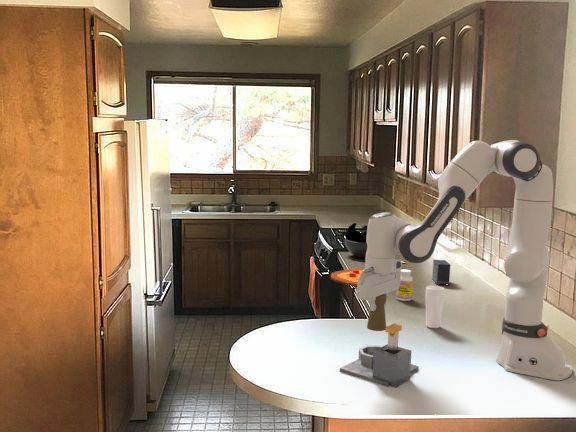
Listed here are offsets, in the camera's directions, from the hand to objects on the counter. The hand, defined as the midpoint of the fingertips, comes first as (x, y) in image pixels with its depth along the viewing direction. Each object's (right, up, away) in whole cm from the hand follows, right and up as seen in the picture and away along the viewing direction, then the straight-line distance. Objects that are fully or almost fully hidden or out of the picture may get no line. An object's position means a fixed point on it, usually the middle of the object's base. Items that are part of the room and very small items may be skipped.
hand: (377, 308), depth 196 cm
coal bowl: (+14, +5, +166) cm, 167 cm away
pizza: (+9, -3, +113) cm, 114 cm away
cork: (0, -7, +1) cm, 7 cm away
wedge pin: (+3, -13, -11) cm, 17 cm away
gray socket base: (0, -19, -3) cm, 19 cm away
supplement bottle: (+23, -8, +78) cm, 81 cm away
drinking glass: (+27, -13, +41) cm, 50 cm away
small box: (+46, -4, +109) cm, 118 cm away
